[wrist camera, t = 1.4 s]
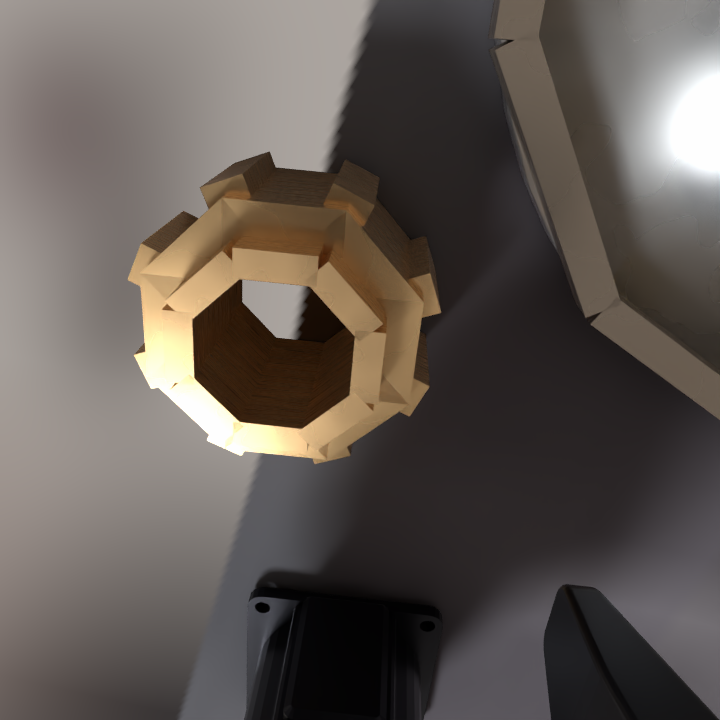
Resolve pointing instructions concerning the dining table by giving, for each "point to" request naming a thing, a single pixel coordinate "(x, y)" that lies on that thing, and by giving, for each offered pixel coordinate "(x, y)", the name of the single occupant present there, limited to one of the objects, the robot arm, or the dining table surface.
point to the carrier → (625, 166)
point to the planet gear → (296, 267)
